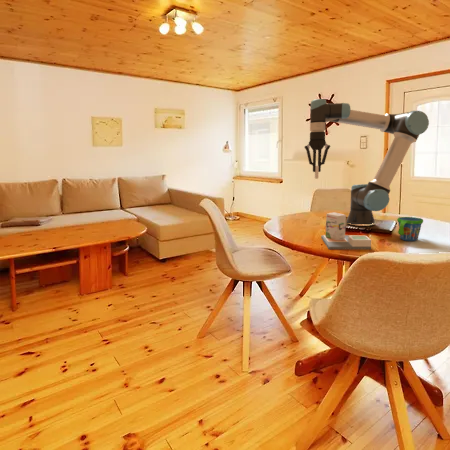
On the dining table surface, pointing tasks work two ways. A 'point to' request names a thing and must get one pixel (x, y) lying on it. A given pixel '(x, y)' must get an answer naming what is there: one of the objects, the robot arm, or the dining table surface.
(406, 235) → the snack cup
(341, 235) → the ink box
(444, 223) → the dining table surface
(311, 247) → the dining table surface
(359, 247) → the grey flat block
